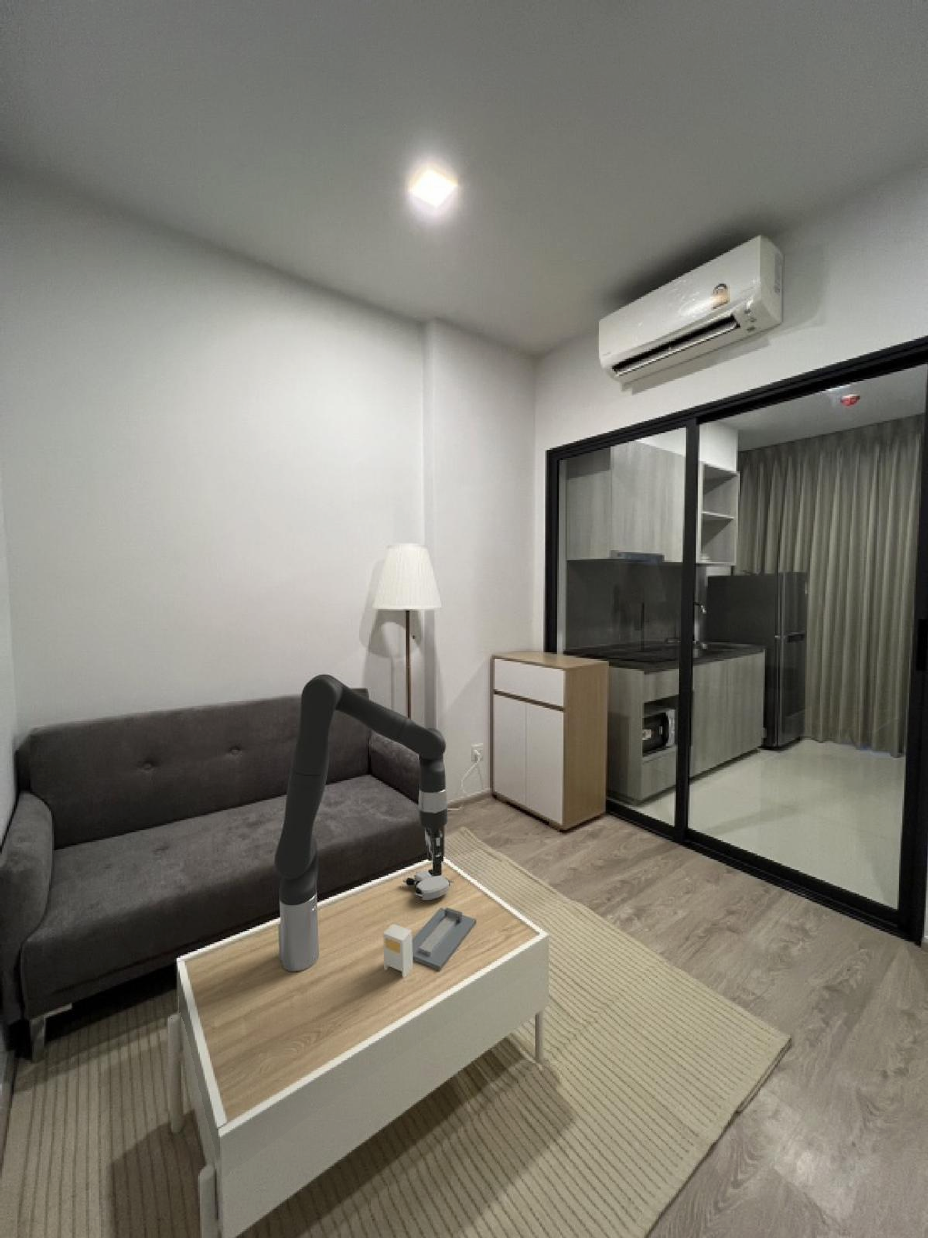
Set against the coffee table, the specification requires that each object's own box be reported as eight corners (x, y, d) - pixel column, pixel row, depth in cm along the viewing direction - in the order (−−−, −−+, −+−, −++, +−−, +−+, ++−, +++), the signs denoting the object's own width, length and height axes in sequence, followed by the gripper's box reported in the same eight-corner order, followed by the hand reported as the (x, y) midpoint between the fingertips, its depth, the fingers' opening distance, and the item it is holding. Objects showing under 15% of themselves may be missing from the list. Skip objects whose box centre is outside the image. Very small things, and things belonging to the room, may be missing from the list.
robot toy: (400, 889, 158) (422, 909, 146) (399, 875, 158) (421, 894, 146) (433, 876, 165) (457, 895, 152) (432, 863, 165) (456, 880, 153)
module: (383, 969, 122) (382, 933, 122) (393, 958, 126) (392, 923, 126) (403, 978, 120) (402, 941, 119) (412, 966, 123) (411, 930, 123)
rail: (416, 950, 127) (416, 941, 127) (447, 914, 142) (446, 906, 141) (433, 956, 125) (432, 947, 125) (462, 920, 139) (462, 912, 139)
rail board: (401, 954, 127) (401, 951, 127) (440, 910, 145) (440, 907, 145) (440, 970, 122) (440, 966, 122) (476, 922, 139) (476, 919, 139)
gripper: (415, 798, 134) (416, 857, 134) (422, 817, 120) (424, 883, 120) (441, 795, 136) (443, 853, 136) (452, 813, 122) (453, 878, 122)
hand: (434, 867), depth 128 cm, fingers open, 8 cm apart
